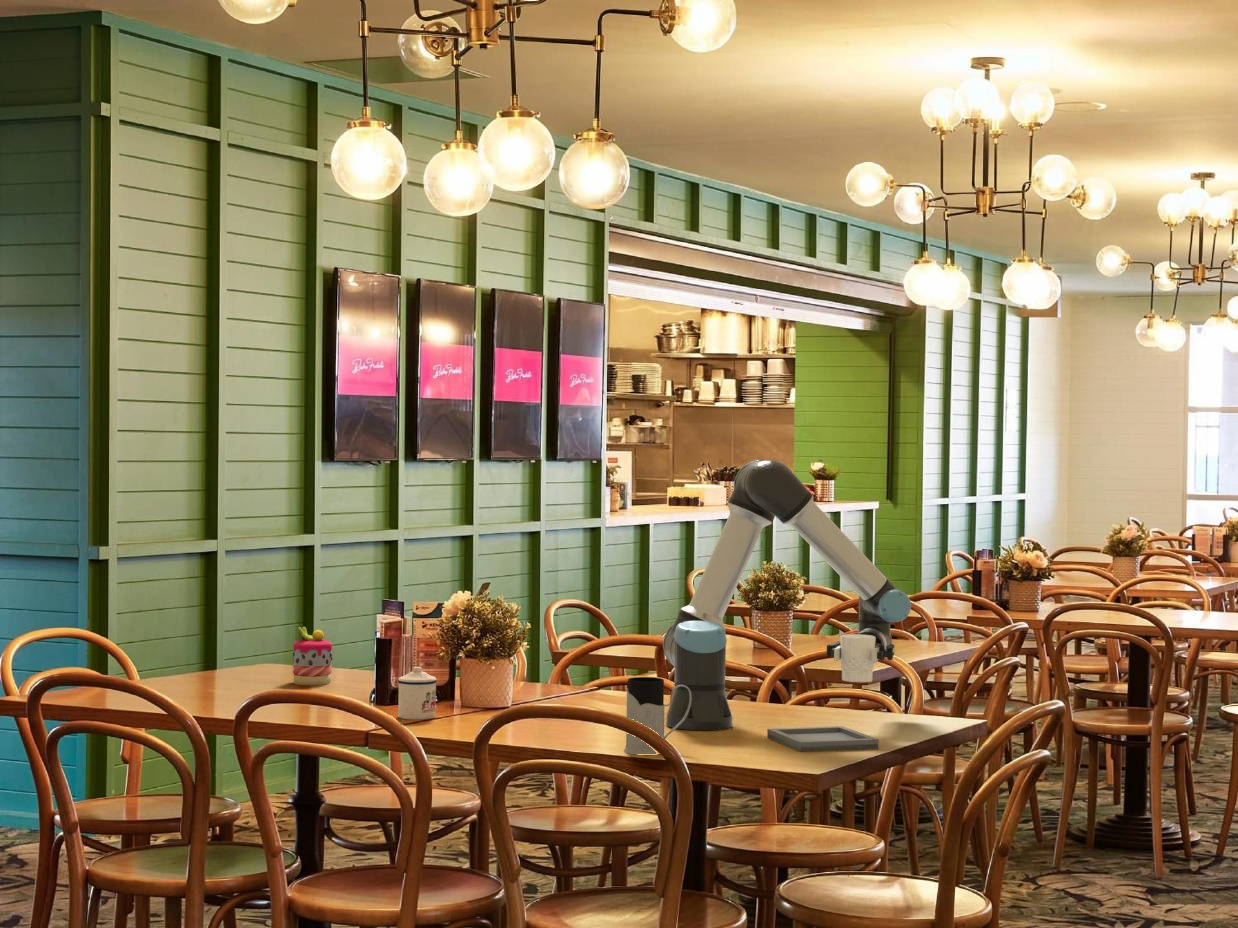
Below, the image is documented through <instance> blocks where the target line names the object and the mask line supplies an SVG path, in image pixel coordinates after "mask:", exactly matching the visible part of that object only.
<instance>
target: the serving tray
mask: <svg viewBox="0 0 1238 928" xmlns="http://www.w3.org/2000/svg"><path fill="white" fill-rule="evenodd" d="M766 732H767V734H766V735H767V739H769V740H771V741H774V742H776V743H778V744H781V745H783V746H785V747H788V748H790V749H792V750H795V751H797V752H800V753H805V752H807V753H808V752H809V753H810V752H833V751H857V750H876V749H877V750H878V749H879V746H880V744H879V742H880V741H879V738H876V737H873V736H871V735H868V734H865V733H863V732H860V731H858V730H854V729H851V728H849V727H846V726H844V725H836V726H832V725H831V726H813V727H812V726H811V727H808V726H807V727H783V728H782V727H781V728H780V727H779V728H778V727H777V728H767V729H766Z"/></svg>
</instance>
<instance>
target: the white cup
mask: <svg viewBox="0 0 1238 928" xmlns="http://www.w3.org/2000/svg"><path fill="white" fill-rule="evenodd" d="M875 640H876V637H875V636H871V635H859V634H858V633H857V634H856V633H855V634H853V633H852V634H851V633H850V634H841V635H840V636H839V642H840V647H841V659H840V668H841V680H842V681H843V682H848V683H870V682H872V681H873V673H874V672H873V670H874V665H875V663H872V650H873V649H875Z"/></svg>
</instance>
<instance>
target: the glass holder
mask: <svg viewBox="0 0 1238 928" xmlns="http://www.w3.org/2000/svg"><path fill="white" fill-rule="evenodd" d="M680 686H682V687H686V688H687V689H688V691H689V696H690V698H689V705H688V709H687V711H686V713H685V715H684V717H683V719H682V720H681V721H680V722H679V723H678V724H677V725H676V726H675V727H674V728H673V727H672V728H671V729H670V730H669V731H668V732H667V733H665V707H669V706H670V705H671V704H672V699H673V694H674V691H675V690H676V688H678V687H680ZM664 687H665V680H664V678H660V677H649V676H648V677H647V676H645V677H644V676H639V677H637V676H635V677H630V678H627V690H626V719H627V718H630V719H634V721H638V722H639V723H642V724H643V725H645V726H647V727H649V728H651V729H652V730H654V731H655V732H657V733H658V734H659V735H660V736H661V737H663V738H664V739H665V740H666V739H667V737H668V736H669V735H671V734H672V733H673V732H675V730H676V729H678V728H677V727H678V726H679V725H680V724H681V723H682V722H683V721H684V720H685V718H686V717H687V715H688V712H689V710H690V706H691V699H692V696H691V691H690V689H689V688H688V687H687V686H685V685H677V686H676V687H675V686H673V688H672V690H671V692H670V697H669V698H670V700H669V703H667V704H666V703H665V704H664V700H665V698H664V697H665V693H664V692H665V691H664V690H665V688H664ZM625 733H626V732H625ZM625 735H626V737H625V738H626V739H625V740H626V741H625V744H626V745H625V747H624V750H623V753H624V752H625V753H624V754H627V755H631V754H656V752H655V751H654V750H653V749H652V748H651V747H649V745H647V744H646V743H645V742H643V741H641V739H639V738H638V737H634V736H632V735H630V734H627V733H626V734H625Z"/></svg>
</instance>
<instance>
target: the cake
mask: <svg viewBox="0 0 1238 928" xmlns="http://www.w3.org/2000/svg"><path fill="white" fill-rule="evenodd" d="M297 630H298V632H299V633H300V634H301V637H303V638H304V639H301V640H297V641H295V642H294V643H293V646H292V647H293V648H292V651H293V652H292V657H293V665H292V668H293V669H292V674H293V684H295V685H298V686H322V685H325V686H326V685H329V684H331V682H332V680H331V676H332V671H333V670H332V669H333V668H332V667H333V666H332V660H333V654H332V651H333V643H332V642H331V641H330V640H329V641H328V640H325V639H324V637H325V634H324V632H323V630H320V629H316V630H314V631H313V632H312V635H311V634H308V631H307V630H308V629H307V627H306V626H302V627H301V626H299V627H297Z"/></svg>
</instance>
